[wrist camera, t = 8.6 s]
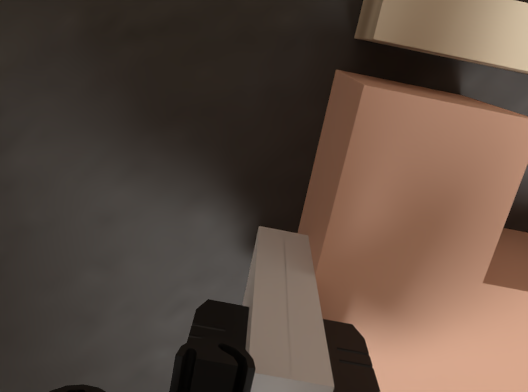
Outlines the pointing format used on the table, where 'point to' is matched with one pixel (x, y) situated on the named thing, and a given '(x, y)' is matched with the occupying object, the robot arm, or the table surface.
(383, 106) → the t block
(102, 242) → the table surface
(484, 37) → the corner fence
